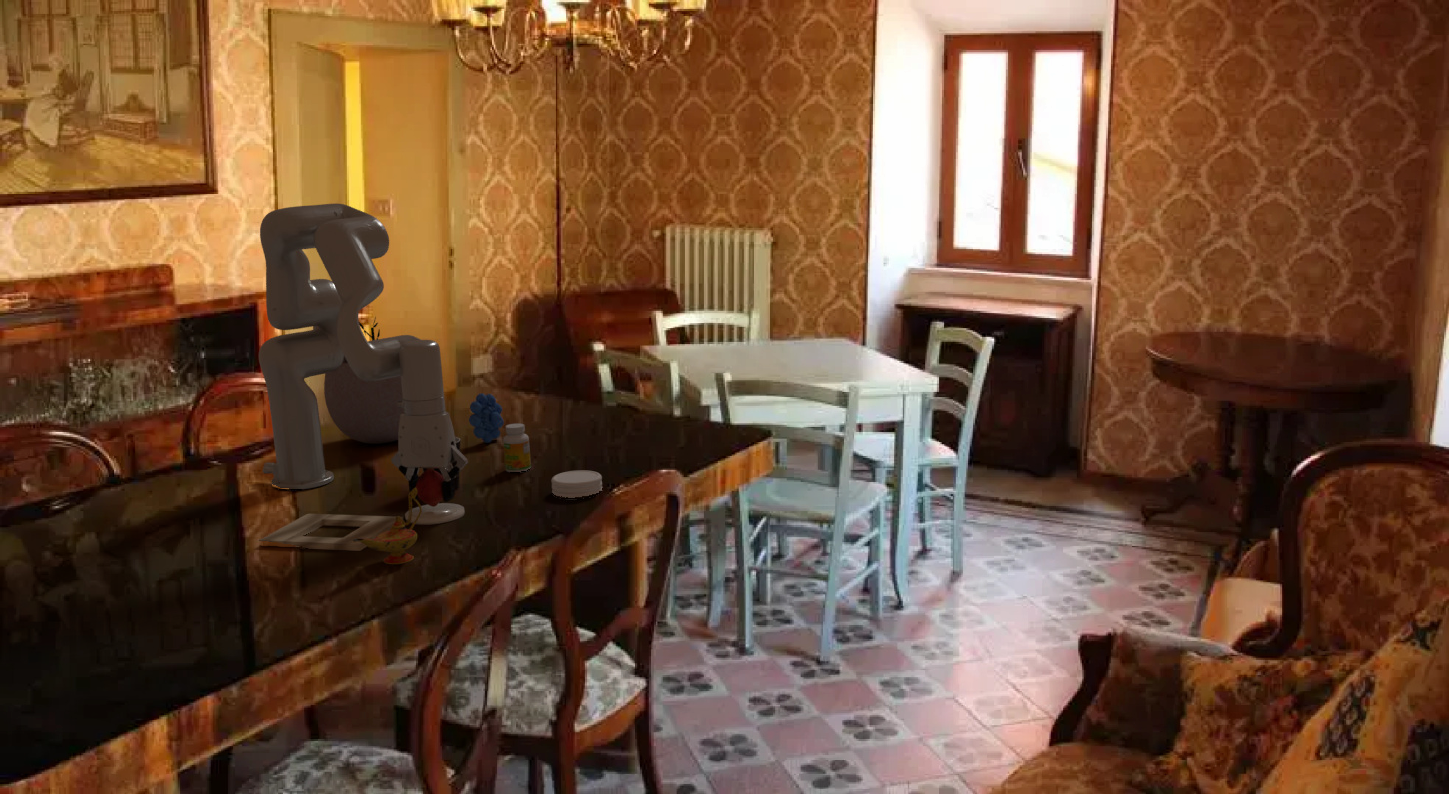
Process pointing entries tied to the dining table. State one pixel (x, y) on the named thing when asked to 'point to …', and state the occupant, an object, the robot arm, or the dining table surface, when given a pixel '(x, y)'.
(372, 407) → the plant pot
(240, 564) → the dining table surface
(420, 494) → the onion
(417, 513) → the saucer
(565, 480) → the white round container
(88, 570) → the dining table surface
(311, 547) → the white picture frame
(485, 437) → the grapes
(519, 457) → the supplement bottle
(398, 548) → the magic lamp
